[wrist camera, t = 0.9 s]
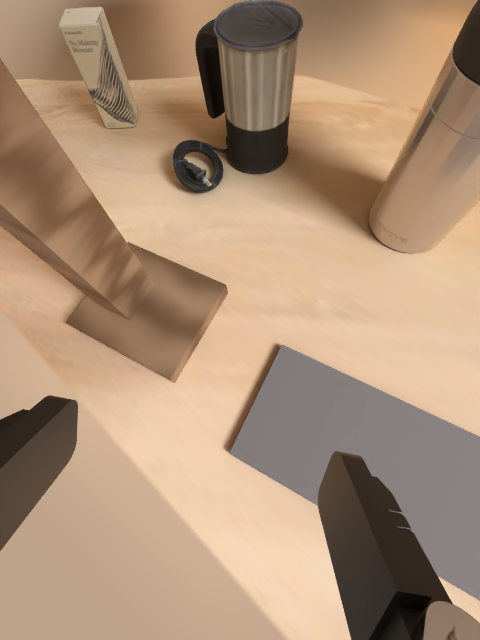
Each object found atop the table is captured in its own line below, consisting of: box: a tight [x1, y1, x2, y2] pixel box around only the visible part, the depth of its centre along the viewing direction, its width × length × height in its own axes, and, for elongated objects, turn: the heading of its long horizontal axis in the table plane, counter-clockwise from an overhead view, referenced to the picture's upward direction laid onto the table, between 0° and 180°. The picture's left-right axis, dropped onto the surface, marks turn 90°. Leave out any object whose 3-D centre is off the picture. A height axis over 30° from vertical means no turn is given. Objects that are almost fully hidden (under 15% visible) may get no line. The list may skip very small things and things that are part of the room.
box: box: [59, 7, 138, 128], centre depth 42 cm, size 5×4×13 cm
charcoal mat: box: [229, 345, 480, 600], centre depth 26 cm, size 12×26×1 cm, turn 62°
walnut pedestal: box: [0, 59, 228, 383], centre depth 19 cm, size 12×15×32 cm
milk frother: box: [173, 0, 303, 192], centre depth 36 cm, size 14×16×15 cm
